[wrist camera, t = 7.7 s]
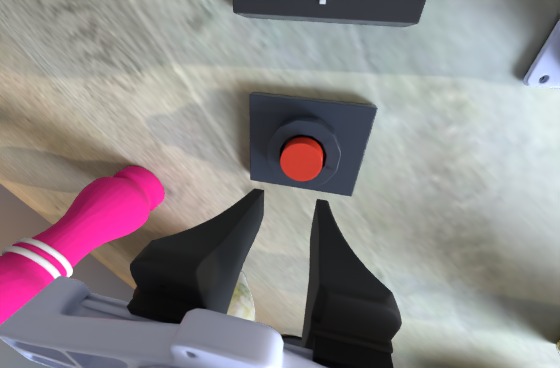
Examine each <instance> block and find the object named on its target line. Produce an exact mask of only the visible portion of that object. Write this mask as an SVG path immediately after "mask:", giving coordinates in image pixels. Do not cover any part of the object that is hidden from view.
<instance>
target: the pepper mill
mask: <svg viewBox="0 0 560 368" xmlns="http://www.w3.org/2000/svg"><path fill="white" fill-rule="evenodd" d="M164 195H165V193H164V188H163V186H162V184H161V183H160V181H159V180H158V179H157V178H156V177H155V176H154V175H153V174H152V173H151V172H149V171H148V170H146V169H144V168H141V167H138V166H129V167H126V168H124V169H123V170H121V171H119V172H117V173H116V174H115V175H114V176H113V177H102V178H99V179H96V180H95V181H93V182H92V183H90V184H89V185H88V186H86V187H85V188H84V189H83V190H82V191H81V192H80V193H79V195H78V196H77V197H76V199H75V200H74V202H73V203H72V205H71V206H70V208H69V209H68V211H67V212H66V214H65V215H64V216H63V217H62V218H61V219H60V220H59V221H58V222H57V223H56V224H54V225H53V226H51V227H50V228H48V229H47V230H46V231H44V232H42V233H40V234H38V235H36V236H35V237H33V238H21V239H19V240H17V241H16V243H15V244H13V245H12V246H9V247H6V248H4V249H3V251H2V256H0V325H1V324H2V323H3V322H4V321H6V320H7V319H8V318H9V317H10V316H11V315H13V314H14V313H15V312H16V311H17V310H19V309H20V308H21V307H22V306H23V305H25V304H26V303H27V302H28V301H29V300H31V299H32V298H33V297H34V296H35V295H37V294H38V293H39V292H40V291H41V290H43V289H44V288H45V287H46V286H47V285H49V284H50V283H51V282H52V281H53V280H55V279H56V278H57V277H58V276H64V277H70V276H71V275H72V273H73V269H72V268H73V267H74V266H75V265H76V264H77V263H78V262H79V261H80V260H81V259H82V258H83V257H84V256H86V255H87V254H88V253H89V252H91V251H92V250H93V249H95V248H97V247H98V246H100V245H102V244H104V243H106V242H109V241H111V240H114V239H117V238H120V237H123V236H125V235H128V234H130V233H132V232H133V231H135V230H137V229H138V228H139V227H141V226H142V225H143V224H144V223H145V222H146V221H147V219H148V217H149V213H150V211H152V210H153V209H155V208H156V207H157V206H158V205H159V204H160V203H161V202H162V201H163V199H164Z"/></svg>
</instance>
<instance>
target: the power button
mask: <svg viewBox="0 0 560 368" xmlns="http://www.w3.org/2000/svg"><path fill="white" fill-rule="evenodd" d="M322 162H323V152H322V149H321V147H320V145H319V144H318V143H317V142H316V141H314V140H313V139H311V138H307V137H297V138H294V139H292V140H291V141H289V142H288V143H287V145H286V146H285V148H284V150H283V152H282V155H281V158H280V164H281V168H282V170H283V171H284V173H285V174H286V175H287V176H288V177H290V178H291V179H294V180H297V181H307V180H311V179H313V178H314V177H316V176H317V175H318V174H319V172H320V171H321V168H322Z"/></svg>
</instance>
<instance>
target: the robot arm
mask: <svg viewBox="0 0 560 368" xmlns="http://www.w3.org/2000/svg"><path fill="white" fill-rule="evenodd" d="M542 76H545V77H544V79H543V80H542V81H541V82H539V79H540V78H541V77H542ZM523 83H524V84H525V85H528V86H536V87H547V88H558V89H560V19H559V21H558V22H557V24H556V26H555V27H554V29H553V31H552V32H551V34H550V36H549V37H548V39H547V41H546V42H545V44H544V46H543V47H542V49H541V51H540V52H539V54H538V56H537V57H536V59H535V61H534V62H533V64H532V66H531V67H530V69H529V71H528V72H527V74H526V76H525V77H524V80H523ZM263 214H264V190H261V189H253V190H252V191H251V192H249V193H248V194H247V195H246V196H245V197H243V198H242V199H241V200H239V201H238V202H237V203H235V204H234V205H233V206H231V207H230V208H228V209H227V210H225V211H224V212H222V213H221V214H219V215H218V216H216V217H214V218H212V219H210V220H208V221H206V222H204V223H202V224H200V225H198V226H195V227H193V228H191V229H188V230H185V231H183V232H180V233H177V234H174V235H171V236H167V237H164V238H160V239H157V240H153V241H151V242H150V243H149V244H148V245H147V246H146V247H145V248H144V249H143V250H142V252H141V253H140V254H139V255H138V256H137V257H136V258H135V259H134V260H133V261H132V263H131V264H130V271H131V274H132V277H133V279H134V281H135V283H136V285H137V287H138V289H139V291H138V292H137V294H136V295H135V296H134V297H133V299H132V300H131V301H130V302H126V301H122V300H118V299H115V298H111V297H107V296H103V295H99V294H96V293H91V292H90V290H89V288H88V286H87V285H86V284H85V283H83V282H82V281H79V280H76V279H72V278H68V277H64V276H58V277H57V278H56V279H55V280H53V281H52V282H51V283H50V284H49V285H47V286H46V287H45V288H44V289H43V290H41V291H40V292H39V293H38V294H37V295H35V296H34V297H33V298H32V299H31V300H29V301H28V302H27V303H26V304H25V305H23V306H22V307H21V308H20V309H19V310H17V311H16V312H15V313H14V314H13V315H11V316H10V317H9V318H8V319H7V320H6V321H4V322H3V323H2V324H1V325H0V339H1V340H3V341H4V342H6V343H7V344H8V345H10V346H11V347H12V348H14V349H15V350H17V351H18V352H19V353H21V354H22V355H23V356H25V357H26V358H27V359H29V360H31V361H35V362H37V363H40V364H43V365H46V366H49V367H52V368H393V363H392V358H391V354H392V353H393V347H392V342H391V340H392V338H393V337H394V336H395V334H396V333H397V332H398V330H399V329H400V327H401V324H402V322H401V316H400V312H399V309H398V306H397V303H396V301H395V298H394V296H393V293H392V292H391V291H390V290H389V289H388V288H387V287H386V286H385V285H384V284H382V283H381V282H380V281H379V280H378V279H377V278H376V277H375V276H374V275H373V274H372V273H371V272H370V271H369V270H368V269H367V268H366V267H365V265H364V264H363V263H362V262H361V261H360V260H359V258H358V257H357V256H356V255H355V253H354V252H353V250H352V249H351V248H350V246H349V245H348V243H347V242H346V240H345V238H344V237H343V235H342V233H341V231H340V229H339V228H338V226H337V223H336V221H335V219H334V217H333V214H332V212H331V209H330V206H329V202H328V201H326V200H320V199H317V201H316V206H315V212H314V217H313V222H312V228H311V236H310V270H309V284H308V292H307V301H306V309H305V317H304V325H303V333H302V341H301V347H299V346H295V345H291V344H287V343H283V340H282V337H281V335H280V334H279V333H278V332H277V331H275V330H274V329H273V328H272V327H269V326H267V325H264V324H262V323H259V322H255V321H251V320H247V319H243V318H239V317H235V316H231V315H227V312H228V309H229V305H230V302H231V299H232V296H233V293H234V290H235V287H236V283H237V280H238V278H239V275H240V272H241V269H242V266H243V263H244V261H245V259H246V256H247V254H248V252H249V250H250V248H251V246H252V244H253V241H254V239H255V237H256V235H257V233H258V231H259V228H260V225H261V222H262V219H263Z"/></svg>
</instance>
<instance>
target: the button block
mask: <svg viewBox="0 0 560 368" xmlns="http://www.w3.org/2000/svg"><path fill="white" fill-rule="evenodd" d="M376 112H377V107H376V106H375V105H371V104H361V103H352V102H343V101H333V100H324V99H315V98H305V97H296V96H287V95H278V94H268V93H259V92H253V93H251V94H250V179H251V180H254V181H260V182H266V183H272V184H279V185H285V186H291V187H297V188H303V189H309V190H315V191H321V192H328V193H334V194H340V195H346V196H352V193H353V190H354V187H355V183H356V180H357V176H358V173H359V170H360V166H361V163H362V159H363V156H364V153H365V149H366V146H367V143H368V139H369V136H370V132H371V129H372V126H373V122H374V119H375V115H376ZM297 137H307V138H311V139H313V140H314V141H316V142H317V143H318V144H319V145H320V147H321V149H322V152H323V162H322V168H321V171H320V172H319V174H318V175H317V176H316V177H314V178H313V179H311V180H307V181H297V180H294V179H291V178H290V177H288V176H287V175H286V174H285V173H284V171H283V170H282V168H281V164H280V158H281V155H282V152H283V150H284V148H285V146H286V145H287V143H288V142H289V141H291V140H292V139H294V138H297Z"/></svg>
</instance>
